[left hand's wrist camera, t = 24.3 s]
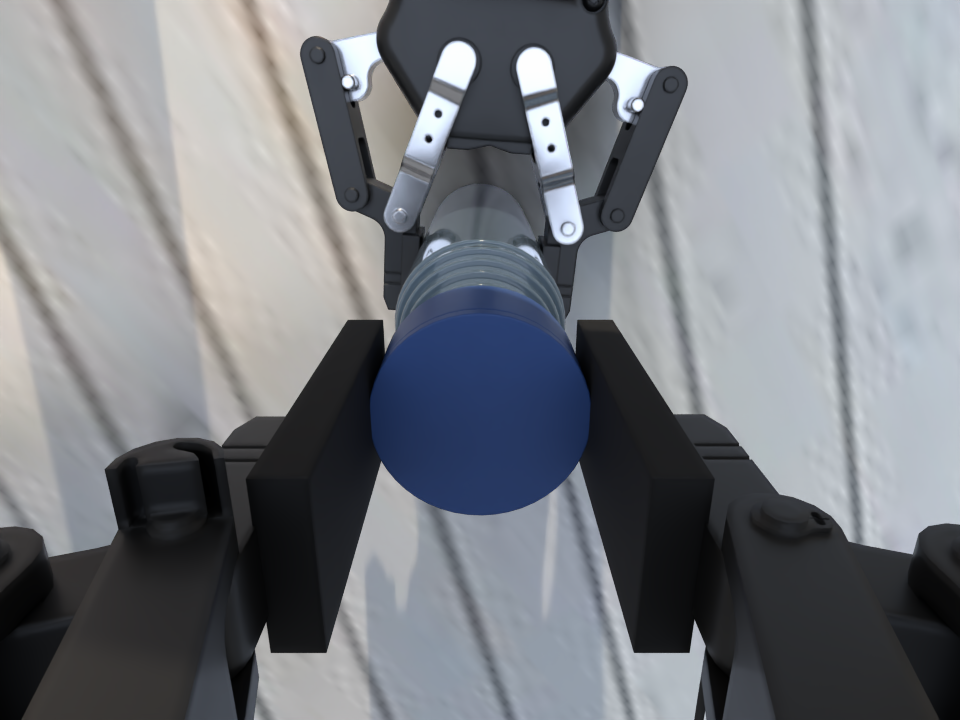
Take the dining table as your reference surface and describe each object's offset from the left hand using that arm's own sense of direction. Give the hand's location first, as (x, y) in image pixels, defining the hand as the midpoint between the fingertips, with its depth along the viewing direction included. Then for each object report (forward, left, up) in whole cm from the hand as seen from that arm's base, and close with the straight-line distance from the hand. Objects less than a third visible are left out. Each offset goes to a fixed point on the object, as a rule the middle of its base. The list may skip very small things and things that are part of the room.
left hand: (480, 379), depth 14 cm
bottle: (0, 0, -19) cm, 19 cm away
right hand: (0, -3, -13) cm, 13 cm away
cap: (0, 0, +2) cm, 2 cm away
